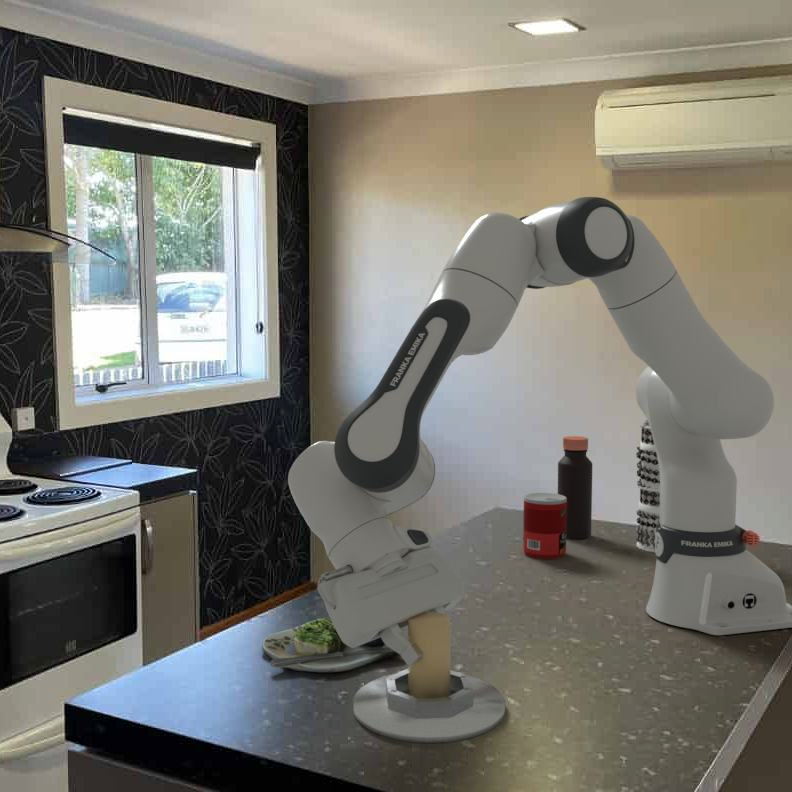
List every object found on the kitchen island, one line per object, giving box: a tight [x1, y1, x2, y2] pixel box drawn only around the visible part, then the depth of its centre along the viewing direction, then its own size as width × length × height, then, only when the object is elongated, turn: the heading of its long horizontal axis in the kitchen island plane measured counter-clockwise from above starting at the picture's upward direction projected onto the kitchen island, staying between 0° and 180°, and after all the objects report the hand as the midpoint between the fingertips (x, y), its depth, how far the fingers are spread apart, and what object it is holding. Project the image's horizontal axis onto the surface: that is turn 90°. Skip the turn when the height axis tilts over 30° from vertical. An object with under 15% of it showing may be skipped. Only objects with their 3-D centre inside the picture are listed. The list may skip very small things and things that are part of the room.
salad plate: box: [261, 617, 397, 673], centre depth 134 cm, size 19×18×5 cm
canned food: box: [522, 492, 567, 560], centre depth 184 cm, size 8×8×11 cm
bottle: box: [557, 435, 593, 540], centre depth 197 cm, size 7×7×20 cm
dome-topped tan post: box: [407, 612, 452, 698], centre depth 116 cm, size 5×5×9 cm
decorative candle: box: [635, 419, 660, 553], centre depth 187 cm, size 9×9×25 cm
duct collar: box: [353, 667, 506, 744], centre depth 116 cm, size 18×18×3 cm
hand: (433, 653), depth 115 cm, fingers closed on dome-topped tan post, 5 cm apart
